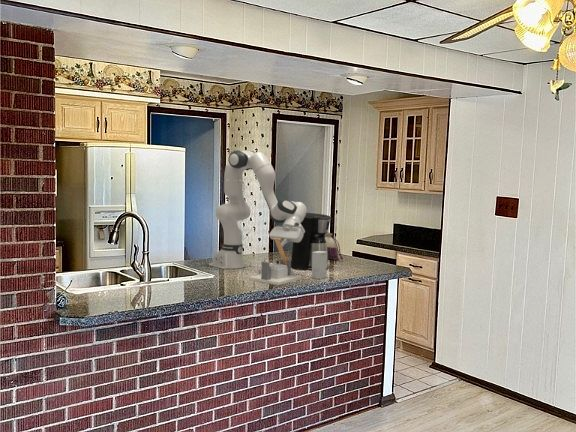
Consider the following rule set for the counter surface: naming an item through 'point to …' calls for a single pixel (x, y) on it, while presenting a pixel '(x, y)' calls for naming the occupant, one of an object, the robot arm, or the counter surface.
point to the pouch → (332, 247)
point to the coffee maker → (310, 241)
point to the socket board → (274, 281)
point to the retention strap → (281, 250)
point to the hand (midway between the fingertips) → (280, 245)
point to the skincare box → (319, 264)
